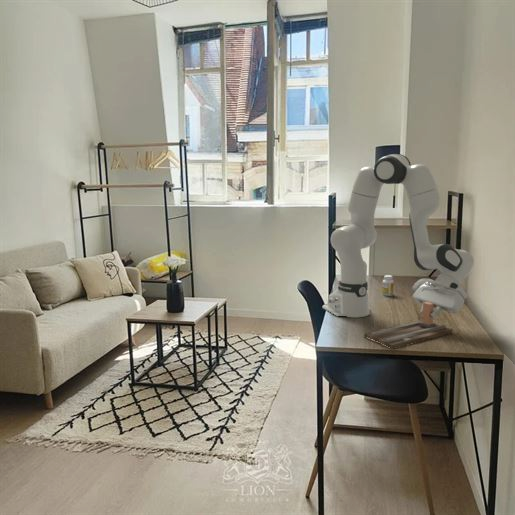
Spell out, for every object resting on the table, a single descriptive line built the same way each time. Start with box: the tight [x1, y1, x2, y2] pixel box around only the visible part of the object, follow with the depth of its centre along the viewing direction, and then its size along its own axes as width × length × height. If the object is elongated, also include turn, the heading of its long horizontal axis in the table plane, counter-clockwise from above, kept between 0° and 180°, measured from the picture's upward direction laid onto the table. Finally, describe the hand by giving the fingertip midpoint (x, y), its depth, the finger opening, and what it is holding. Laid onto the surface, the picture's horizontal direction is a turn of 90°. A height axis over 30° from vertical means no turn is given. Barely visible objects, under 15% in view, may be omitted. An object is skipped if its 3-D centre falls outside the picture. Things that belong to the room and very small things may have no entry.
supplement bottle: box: [381, 274, 395, 297], centre depth 230 cm, size 5×5×10 cm
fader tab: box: [419, 302, 437, 328], centre depth 176 cm, size 5×4×9 cm
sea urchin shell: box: [411, 277, 435, 294], centre depth 231 cm, size 13×14×8 cm
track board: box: [363, 319, 453, 349], centre depth 173 cm, size 14×31×2 cm, turn 119°
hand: (426, 315), depth 176 cm, fingers closed on fader tab, 3 cm apart
